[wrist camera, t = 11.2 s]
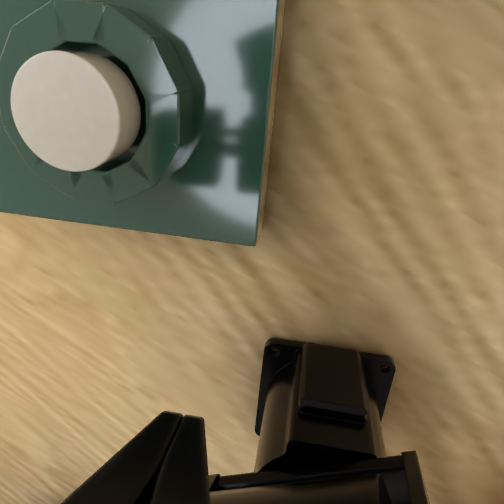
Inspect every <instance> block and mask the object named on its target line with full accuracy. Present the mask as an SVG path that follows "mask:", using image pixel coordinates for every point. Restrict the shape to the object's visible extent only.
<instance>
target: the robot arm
mask: <svg viewBox="0 0 504 504" xmlns="http://www.w3.org/2000/svg"><path fill="white" fill-rule="evenodd" d="M271 347H276V348H278V350H272V349H271ZM382 365H388V367H386V368H382V367H381V366H382ZM394 374H395V364H394V361H393V359H392V358H391V357H389V356H385V355H379V354H372V353H366V352H360V351H356V350H351V349H345V348H339V347H332V346H326V345H319V344H313V343H302V342H296V341H289V340H283V339H277V338H272V339H269V340H268V341H267V342H266V344H265V348H264V356H263V365H262V373H261V382H260V391H259V399H258V408H257V416H256V425H255V432H256V433H257V435H259V436H260V438H259V444H258V450H257V456H256V462H255V469H254V473H245V474H237V475H228V476H220V474H215V475H208V464H207V450H206V437H205V424H204V419H203V418H202V417H198V416H192V415H185V416H184V417H183V415H182V414H180V413H175V412H169V411H164V412H162V413H160V414H159V415H158V416H157V417H156V418H155V419H154V420H153V421H152V422H150V423H149V424H148V425H147V426H146V427H145V428H144V429H143V430H142V431H140V432H139V433H138V434H137V435H136V436H135V437H134V438H133V439H132V440H131V441H129V442H128V443H127V444H126V445H125V446H124V447H123V448H122V449H121V450H119V451H118V452H117V453H116V454H115V455H114V456H113V457H112V458H111V459H109V460H108V461H107V462H106V463H105V464H104V465H103V466H102V467H101V468H100V469H98V470H97V471H96V472H95V473H94V474H93V475H92V476H91V477H90V478H88V479H87V480H86V481H85V482H84V483H83V484H82V485H81V486H80V487H79V488H77V489H76V490H75V491H74V492H73V493H72V494H71V495H70V496H69V497H67V498H66V499H65V500H64V501H63V502H62V503H61V504H430V502H429V498H428V495H427V491H426V487H425V483H424V480H423V476H422V472H421V469H420V465H419V461H418V457H417V454H416V451H407V452H401V454H402V455H398V456H389V457H386V452H385V446H384V440H383V434H382V428H381V420H382V416H383V412H384V409H385V405H386V402H387V398H388V395H389V391H390V388H391V384H392V381H393V377H394Z"/></svg>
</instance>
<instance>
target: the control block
mask: <svg viewBox="0 0 504 504" xmlns="http://www.w3.org/2000/svg"><path fill="white" fill-rule="evenodd" d="M284 6H285V0H0V212H4V213H11V214H19V215H26V216H34V217H41V218H48V219H56V220H63V221H70V222H78V223H85V224H93V225H100V226H107V227H115V228H122V229H129V230H137V231H144V232H152V233H159V234H166V235H174V236H181V237H188V238H196V239H203V240H211V241H218V242H225V243H233V244H240V245H247V246H256V244H257V242H258V239H259V236H260V233H261V230H262V227H263V217H264V207H265V197H266V187H267V177H268V167H269V157H270V147H271V137H272V127H273V117H274V107H275V97H276V87H277V77H278V67H279V57H280V46H281V36H282V26H283V16H284ZM51 50H58V51H79V52H91V53H95V54H98V55H101V56H103V57H105V58H107V59H109V60H110V61H112V62H113V63H115V64H116V65H117V66H118V67H119V68H120V69H121V70H122V71H123V72H124V73H125V74H126V75H127V77H128V78H129V79H130V81H131V83H132V85H133V86H134V89H135V91H136V93H137V96H138V99H139V103H140V109H141V123H140V129H139V132H138V135H137V138H136V140H135V142H134V143H133V145H132V146H131V147H130V148H129V150H128V151H126V152H125V153H124V154H123V155H121V156H119V157H118V158H116V159H113V160H111V161H109V162H107V163H105V164H103V165H101V166H98V167H96V168H94V169H91V170H88V171H82V172H71V171H66V170H62V169H59V168H56V167H54V166H52V165H50V164H48V163H46V162H45V161H43V160H42V159H41V158H39V157H38V156H37V155H36V154H35V153H34V152H33V151H32V150H31V149H30V148H29V147H28V146H27V144H26V143H25V142H24V140H23V139H22V137H21V135H20V133H19V132H18V129H17V127H16V125H15V122H14V119H13V115H12V110H11V88H12V84H13V81H14V78H15V76H16V74H17V72H18V70H19V69H20V67H21V66H22V65H23V64H24V63H25V62H26V61H27V60H28V59H29V58H31V57H32V56H34V55H36V54H38V53H41V52H44V51H51Z"/></svg>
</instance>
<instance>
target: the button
mask: <svg viewBox="0 0 504 504" xmlns="http://www.w3.org/2000/svg"><path fill="white" fill-rule="evenodd" d="M11 110H12V115H13V119H14V122H15V125H16V127H17V129H18V132H19V133H20V135H21V137H22V139H23V140H24V142H25V143H26V144H27V146H28V147H29V148H30V149H31V150H32V151H33V152H34V153H35V154H36V155H37V156H38V157H39V158H41V159H42V160H43V161H45V162H46V163H48V164H50V165H52V166H54V167H56V168H59V169H62V170H66V171H71V172H82V171H88V170H91V169H94V168H96V167H98V166H101V165H103V164H105V163H107V162H109V161H111V160H113V159H116V158H118V157H119V156H121V155H123V154H124V153H125V152H126V151H128V150H129V148H130V147H131V146H132V145H133V143H134V142H135V140H136V138H137V135H138V132H139V129H140V123H141V109H140V103H139V99H138V96H137V93H136V91H135V89H134V86H133V85H132V83H131V81H130V79H129V78H128V77H127V75H126V74H125V73H124V72H123V71H122V70H121V69H120V68H119V67H118V66H117V65H116V64H115V63H113V62H112V61H110V60H109V59H107V58H105V57H103V56H101V55H98V54H95V53H91V52H79V51H58V50H51V51H44V52H41V53H38V54H36V55H34V56H32V57H31V58H29V59H28V60H27V61H26V62H25V63H24V64H23V65H22V66H21V67H20V69H19V70H18V72H17V74H16V76H15V78H14V81H13V84H12V88H11Z"/></svg>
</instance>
